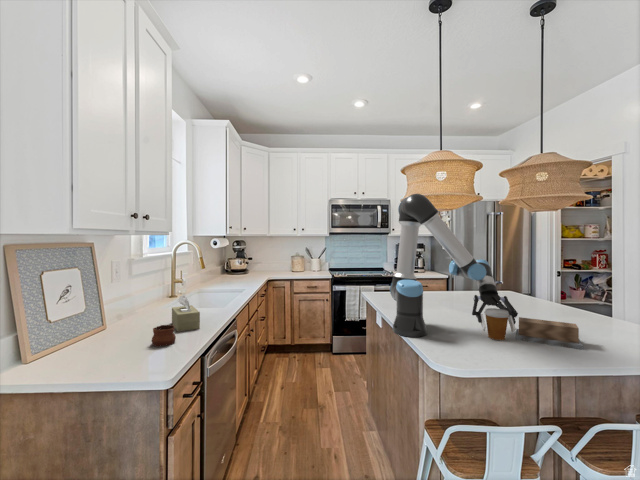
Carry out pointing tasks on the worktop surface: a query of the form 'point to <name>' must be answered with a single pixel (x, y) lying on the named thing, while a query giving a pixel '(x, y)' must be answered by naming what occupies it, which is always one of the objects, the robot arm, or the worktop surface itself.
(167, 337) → the ceramic pot
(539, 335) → the stand
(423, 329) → the robot arm
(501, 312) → the disposable coffee cup
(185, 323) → the tissue box
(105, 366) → the worktop surface
